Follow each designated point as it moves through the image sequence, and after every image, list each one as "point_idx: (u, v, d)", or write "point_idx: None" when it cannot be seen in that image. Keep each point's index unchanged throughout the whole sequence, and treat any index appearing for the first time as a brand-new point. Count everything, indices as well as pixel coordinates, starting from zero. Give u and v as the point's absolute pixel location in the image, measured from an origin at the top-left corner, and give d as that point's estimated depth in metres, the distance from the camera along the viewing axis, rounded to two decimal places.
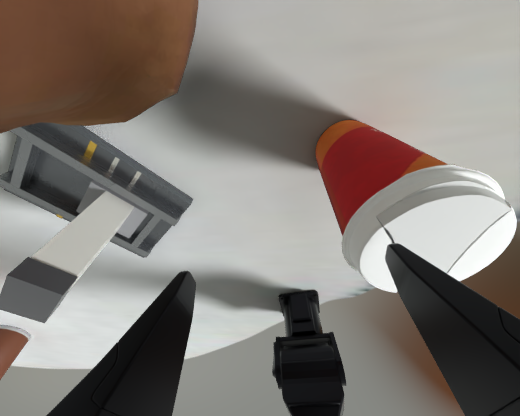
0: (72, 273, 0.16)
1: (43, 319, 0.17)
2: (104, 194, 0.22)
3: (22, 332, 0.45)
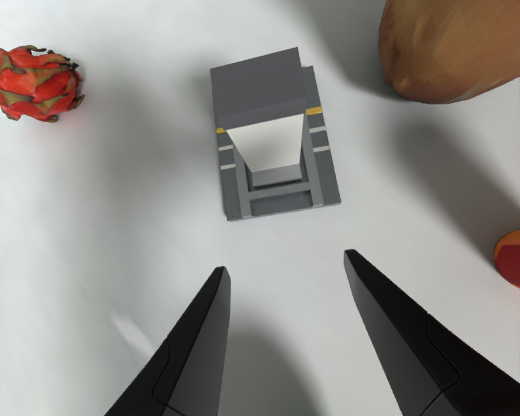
0: None
1: (224, 112, 0.12)
2: None
3: None
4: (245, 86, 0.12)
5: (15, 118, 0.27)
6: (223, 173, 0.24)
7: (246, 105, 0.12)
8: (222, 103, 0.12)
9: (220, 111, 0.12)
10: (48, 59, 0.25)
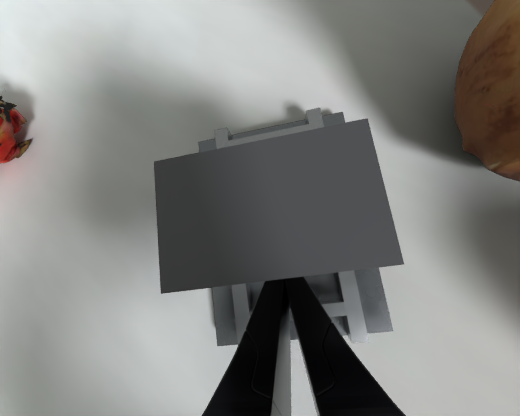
0: None
1: (182, 280, 0.05)
2: None
3: None
4: (235, 215, 0.05)
5: None
6: None
7: (237, 268, 0.05)
8: (178, 255, 0.05)
9: (172, 277, 0.05)
10: None
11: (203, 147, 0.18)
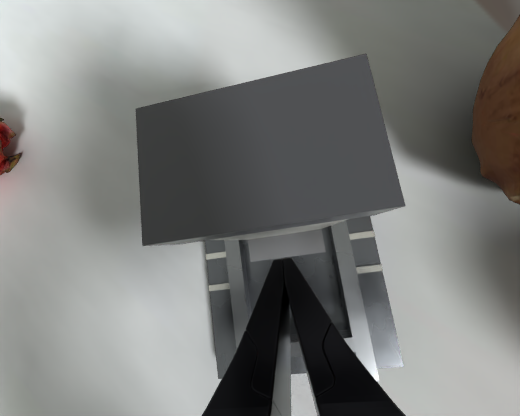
0: None
1: (164, 231, 0.05)
2: None
3: None
4: (223, 161, 0.05)
5: None
6: (213, 297, 0.16)
7: (225, 217, 0.04)
8: (161, 205, 0.05)
9: (155, 228, 0.05)
10: None
11: None
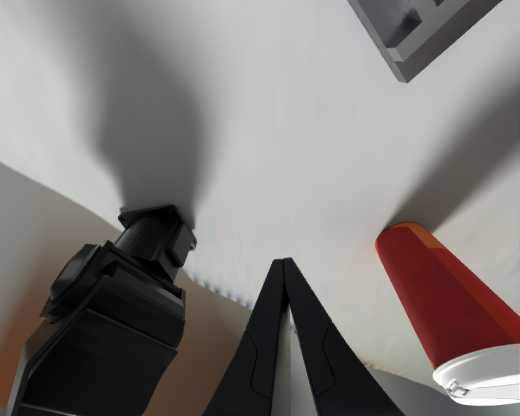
0: None
1: None
2: None
3: None
4: None
5: None
6: None
7: None
8: None
9: None
10: None
11: None
